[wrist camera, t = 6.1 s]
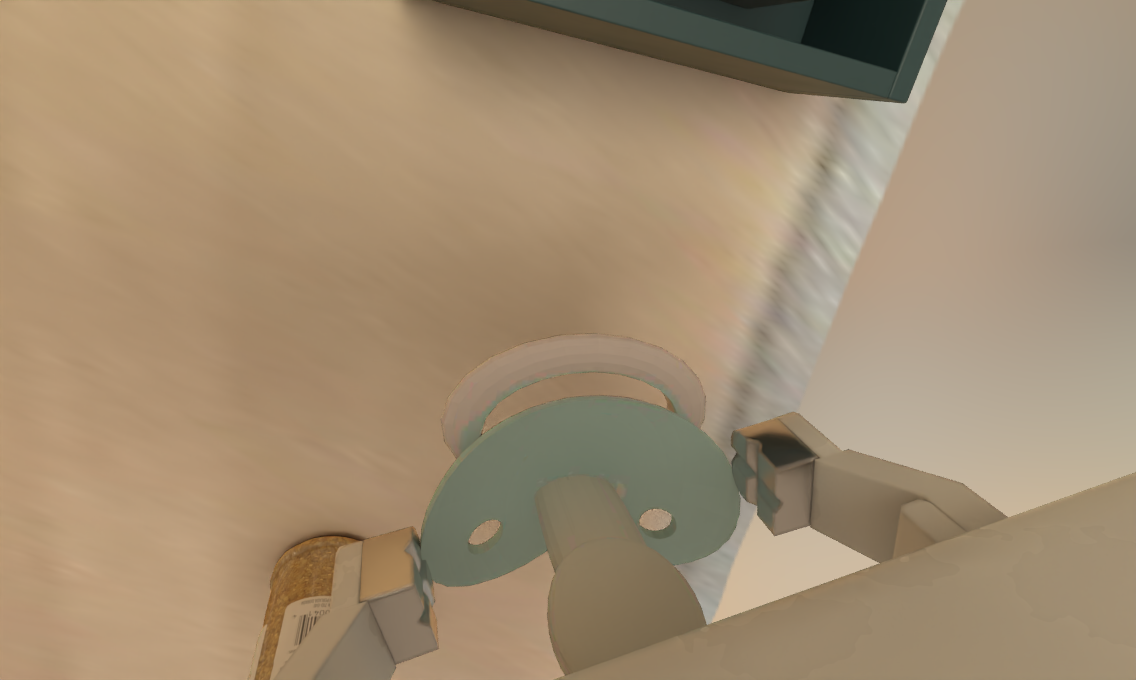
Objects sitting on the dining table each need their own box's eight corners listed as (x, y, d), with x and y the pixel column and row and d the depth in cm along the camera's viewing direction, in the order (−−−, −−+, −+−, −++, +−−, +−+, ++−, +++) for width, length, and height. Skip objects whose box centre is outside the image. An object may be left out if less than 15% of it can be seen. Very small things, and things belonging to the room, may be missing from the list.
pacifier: (425, 316, 13) (412, 542, 15) (452, 504, 7) (425, 821, 9) (728, 327, 15) (678, 523, 17) (931, 479, 9) (817, 740, 11)
